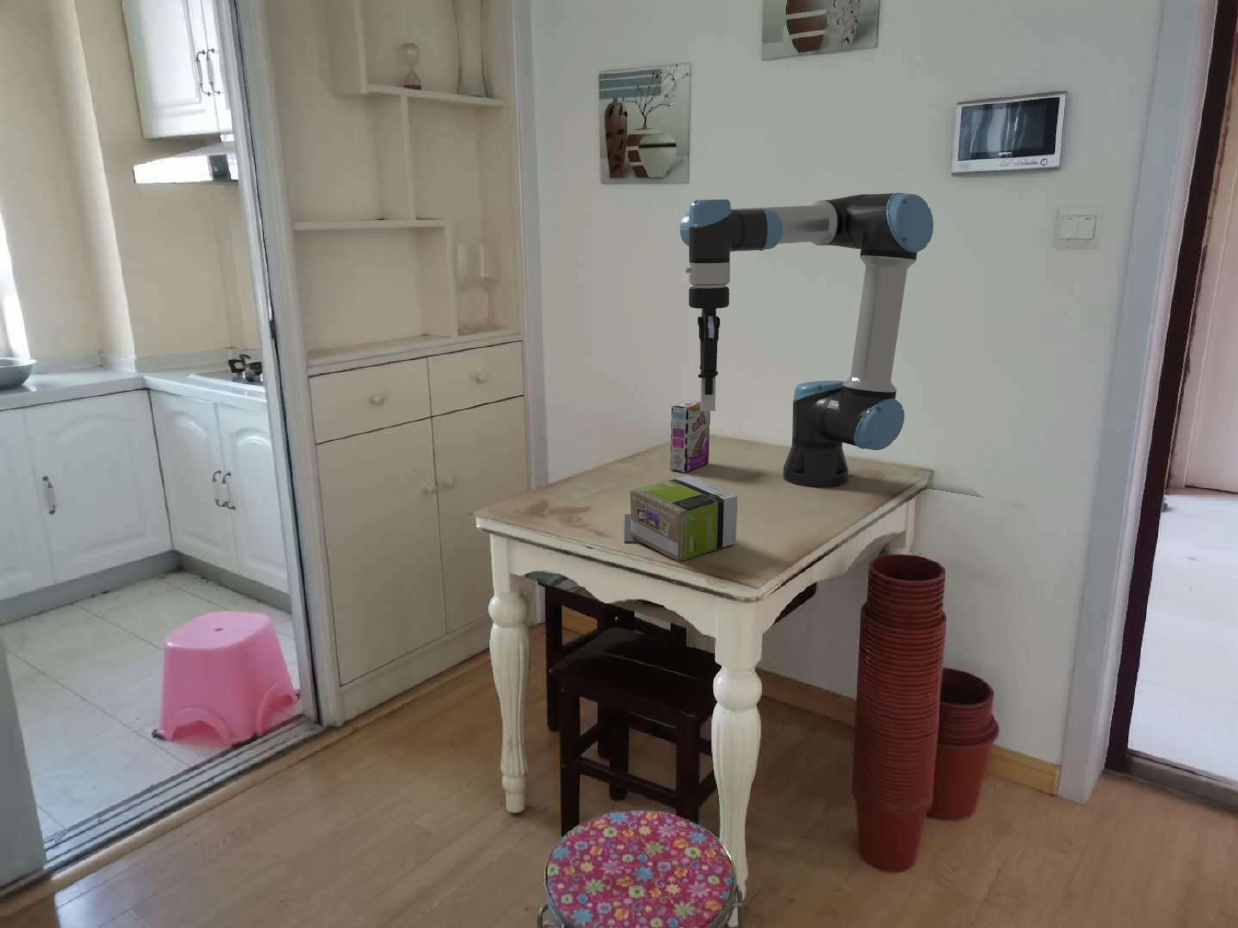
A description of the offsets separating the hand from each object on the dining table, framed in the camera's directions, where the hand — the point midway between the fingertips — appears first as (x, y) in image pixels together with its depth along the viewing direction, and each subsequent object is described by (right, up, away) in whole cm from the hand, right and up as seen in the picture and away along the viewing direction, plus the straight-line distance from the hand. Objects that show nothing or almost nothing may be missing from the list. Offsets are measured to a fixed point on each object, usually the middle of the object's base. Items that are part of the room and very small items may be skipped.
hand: (707, 410), depth 175 cm
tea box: (+1, -19, +2) cm, 19 cm away
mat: (-9, -23, +8) cm, 26 cm away
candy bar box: (+1, -11, +51) cm, 52 cm away
